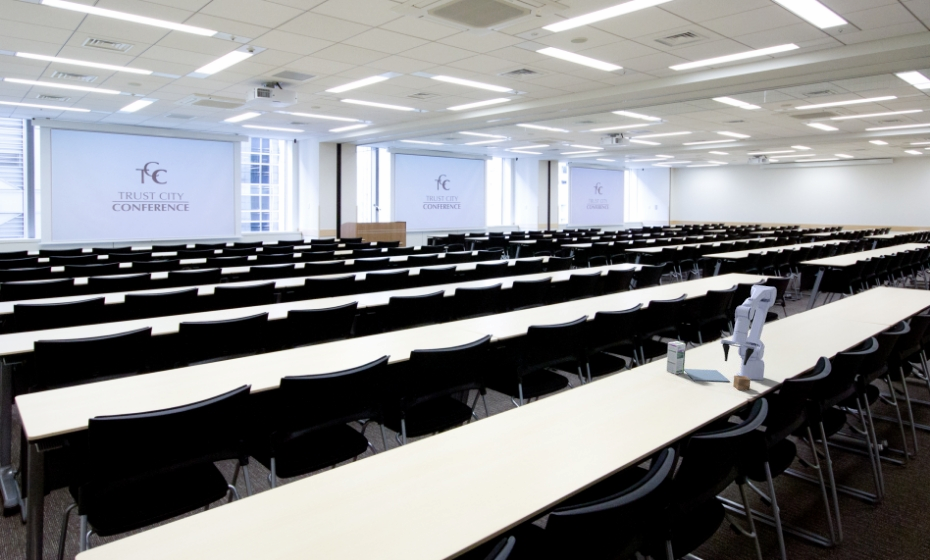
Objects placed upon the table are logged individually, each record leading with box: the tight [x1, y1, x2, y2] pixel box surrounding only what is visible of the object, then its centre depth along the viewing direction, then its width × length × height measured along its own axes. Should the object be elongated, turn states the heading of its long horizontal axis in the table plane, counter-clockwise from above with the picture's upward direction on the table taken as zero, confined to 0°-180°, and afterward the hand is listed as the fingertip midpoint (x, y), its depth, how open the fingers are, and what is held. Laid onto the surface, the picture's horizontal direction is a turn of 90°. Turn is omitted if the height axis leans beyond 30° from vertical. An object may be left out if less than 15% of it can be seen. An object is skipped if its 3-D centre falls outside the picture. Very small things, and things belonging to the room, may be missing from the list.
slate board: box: [684, 368, 731, 383], centre depth 274 cm, size 16×16×1 cm
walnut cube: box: [733, 375, 751, 391], centre depth 257 cm, size 5×5×5 cm
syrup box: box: [666, 340, 687, 375], centre depth 278 cm, size 6×6×14 cm
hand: (735, 363), depth 258 cm, fingers open, 7 cm apart
